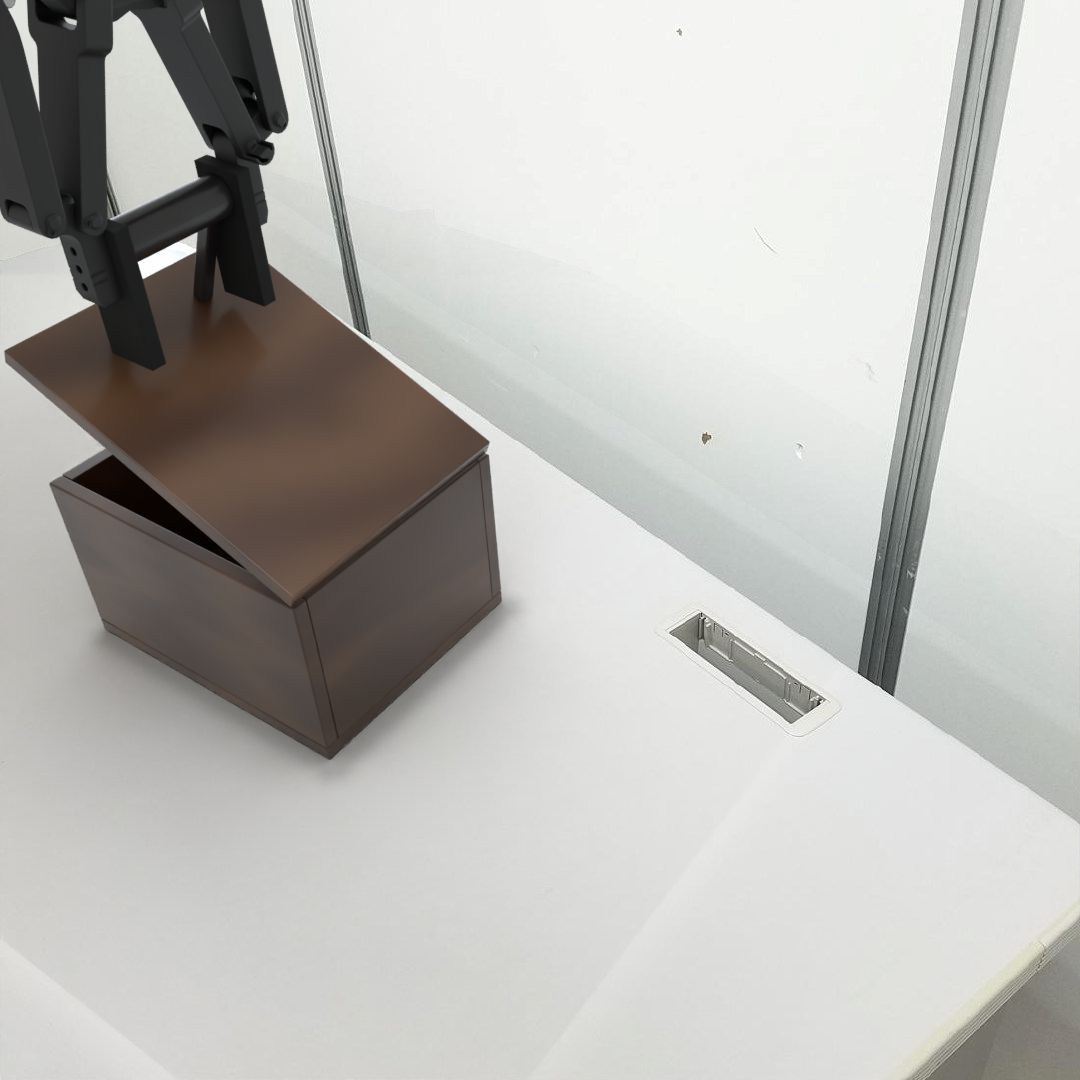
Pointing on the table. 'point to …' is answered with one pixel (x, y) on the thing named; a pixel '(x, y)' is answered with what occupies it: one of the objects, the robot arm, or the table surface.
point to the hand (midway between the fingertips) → (196, 325)
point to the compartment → (266, 620)
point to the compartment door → (252, 407)
